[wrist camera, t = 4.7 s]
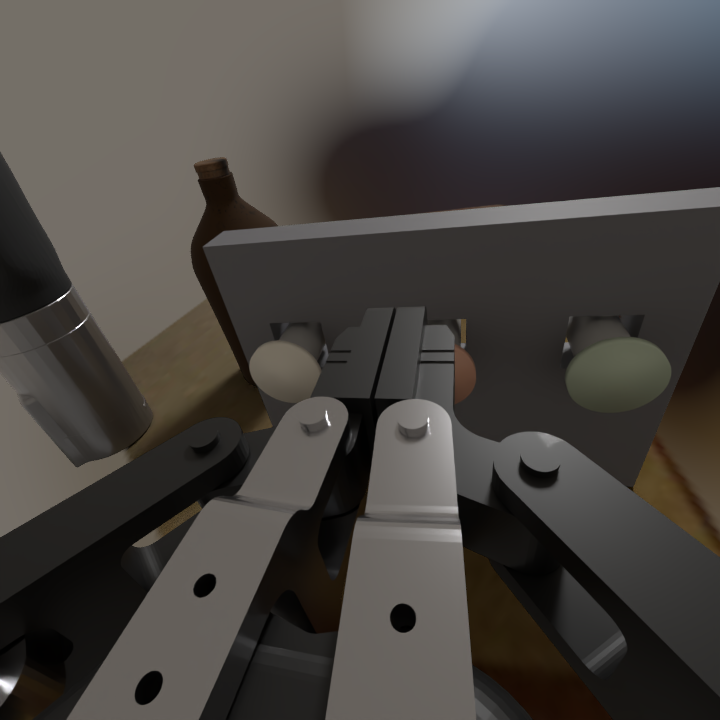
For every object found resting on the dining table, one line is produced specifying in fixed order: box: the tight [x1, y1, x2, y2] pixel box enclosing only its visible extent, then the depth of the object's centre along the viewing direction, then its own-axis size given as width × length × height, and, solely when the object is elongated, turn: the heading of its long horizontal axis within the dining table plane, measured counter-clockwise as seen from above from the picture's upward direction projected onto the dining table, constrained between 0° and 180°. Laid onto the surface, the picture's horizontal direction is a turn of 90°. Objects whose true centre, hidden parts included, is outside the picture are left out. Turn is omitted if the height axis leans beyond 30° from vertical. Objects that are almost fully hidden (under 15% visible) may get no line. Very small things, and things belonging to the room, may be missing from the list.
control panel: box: [203, 187, 720, 487], centre depth 32 cm, size 8×30×22 cm, turn 78°
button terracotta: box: [427, 319, 476, 404], centre depth 27 cm, size 7×5×5 cm
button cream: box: [249, 322, 326, 403], centre depth 29 cm, size 7×5×5 cm
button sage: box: [565, 315, 671, 413], centre depth 24 cm, size 7×5×5 cm
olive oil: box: [191, 157, 278, 386], centre depth 46 cm, size 11×11×25 cm
